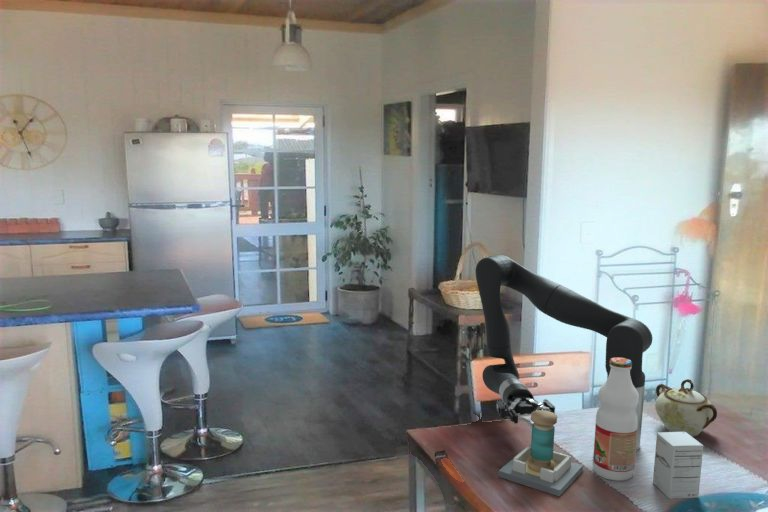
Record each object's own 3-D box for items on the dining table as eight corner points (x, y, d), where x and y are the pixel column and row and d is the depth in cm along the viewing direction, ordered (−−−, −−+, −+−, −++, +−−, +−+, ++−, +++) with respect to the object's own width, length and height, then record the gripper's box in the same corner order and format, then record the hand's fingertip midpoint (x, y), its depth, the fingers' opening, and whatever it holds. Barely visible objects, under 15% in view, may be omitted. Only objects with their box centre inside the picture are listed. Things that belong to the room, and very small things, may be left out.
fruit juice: (627, 486, 149) (636, 369, 145) (587, 474, 155) (594, 361, 151) (638, 470, 157) (647, 359, 153) (599, 459, 162) (606, 351, 158)
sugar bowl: (732, 440, 175) (738, 386, 173) (693, 449, 169) (698, 394, 167) (672, 413, 193) (676, 365, 191) (635, 421, 186) (639, 371, 184)
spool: (534, 458, 158) (536, 408, 156) (557, 465, 155) (560, 414, 153) (524, 468, 154) (526, 416, 151) (548, 475, 150) (551, 422, 148)
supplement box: (651, 482, 151) (655, 431, 149) (681, 482, 152) (686, 430, 150) (667, 499, 144) (672, 445, 142) (699, 498, 144) (704, 444, 142)
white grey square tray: (524, 454, 165) (525, 439, 164) (582, 471, 156) (583, 455, 156) (498, 476, 153) (498, 460, 152) (559, 496, 144) (560, 479, 144)
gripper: (490, 383, 176) (505, 405, 160) (541, 382, 177) (562, 404, 161) (489, 409, 177) (504, 434, 161) (540, 408, 178) (560, 433, 162)
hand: (533, 419), depth 161 cm, fingers open, 8 cm apart
